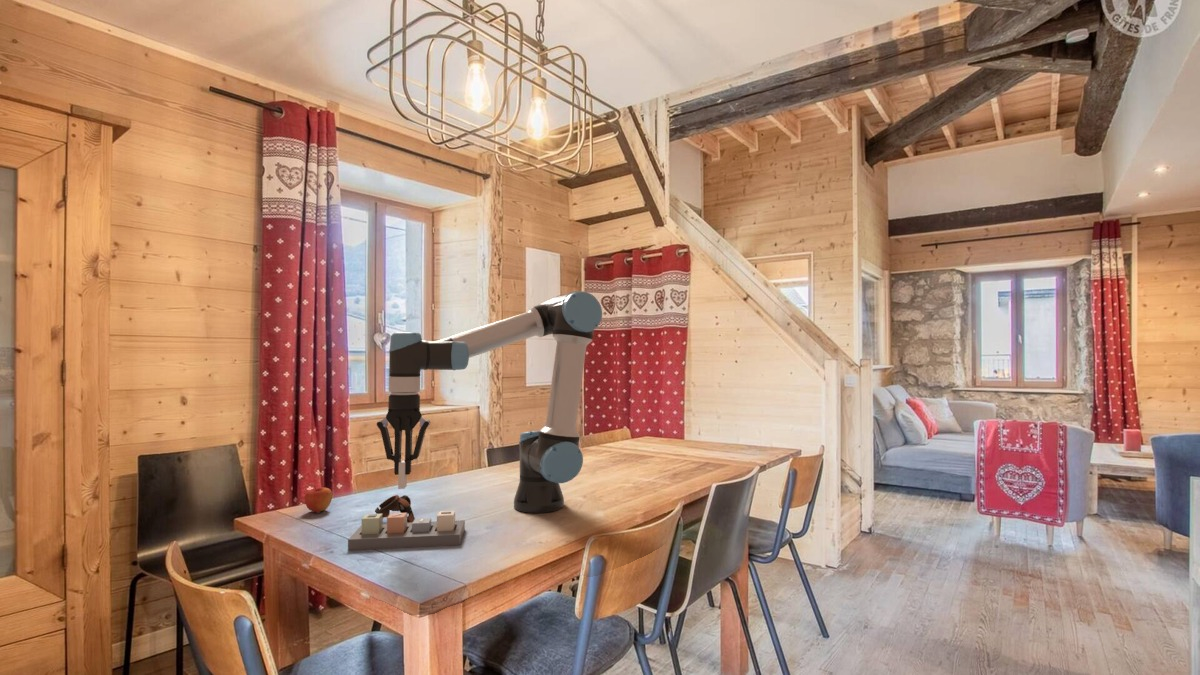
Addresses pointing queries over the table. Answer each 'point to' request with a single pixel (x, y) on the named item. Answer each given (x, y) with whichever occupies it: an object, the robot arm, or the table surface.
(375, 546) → the keypad board
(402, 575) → the table surface
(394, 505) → the dark brown curved piece
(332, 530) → the table surface
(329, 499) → the apple
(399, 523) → the terracotta key
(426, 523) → the slate key
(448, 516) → the cream key
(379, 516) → the sage key
